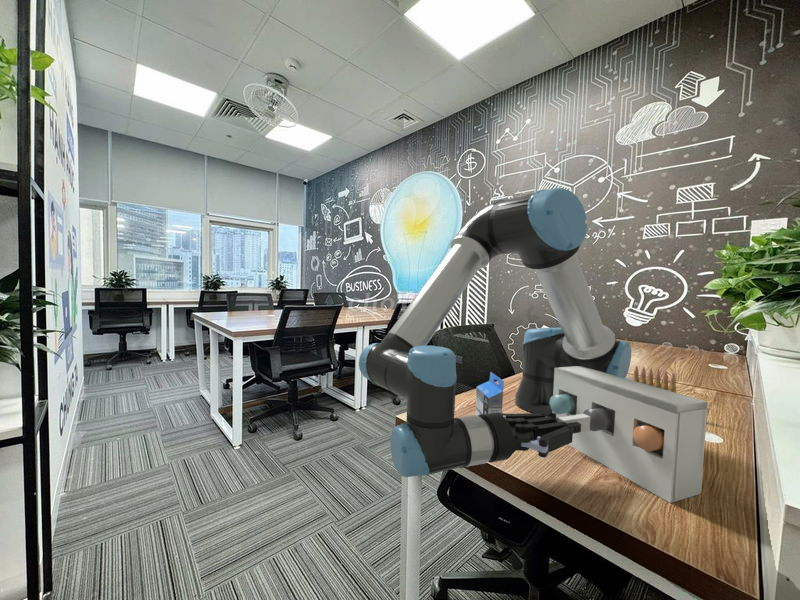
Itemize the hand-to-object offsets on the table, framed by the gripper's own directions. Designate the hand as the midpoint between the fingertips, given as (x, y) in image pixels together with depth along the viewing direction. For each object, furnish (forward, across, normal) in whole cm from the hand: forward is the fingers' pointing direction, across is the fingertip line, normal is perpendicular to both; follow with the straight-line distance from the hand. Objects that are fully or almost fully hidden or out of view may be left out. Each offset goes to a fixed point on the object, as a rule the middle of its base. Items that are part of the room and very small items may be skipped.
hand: (586, 422), depth 62 cm
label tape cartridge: (-7, -22, -9) cm, 25 cm away
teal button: (+3, -9, -2) cm, 9 cm away
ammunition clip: (+46, -17, -9) cm, 50 cm away
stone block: (+59, -32, -9) cm, 68 cm away
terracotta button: (+5, +8, -2) cm, 10 cm away
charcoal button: (+3, 0, -2) cm, 3 cm away
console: (+8, 0, -9) cm, 12 cm away
